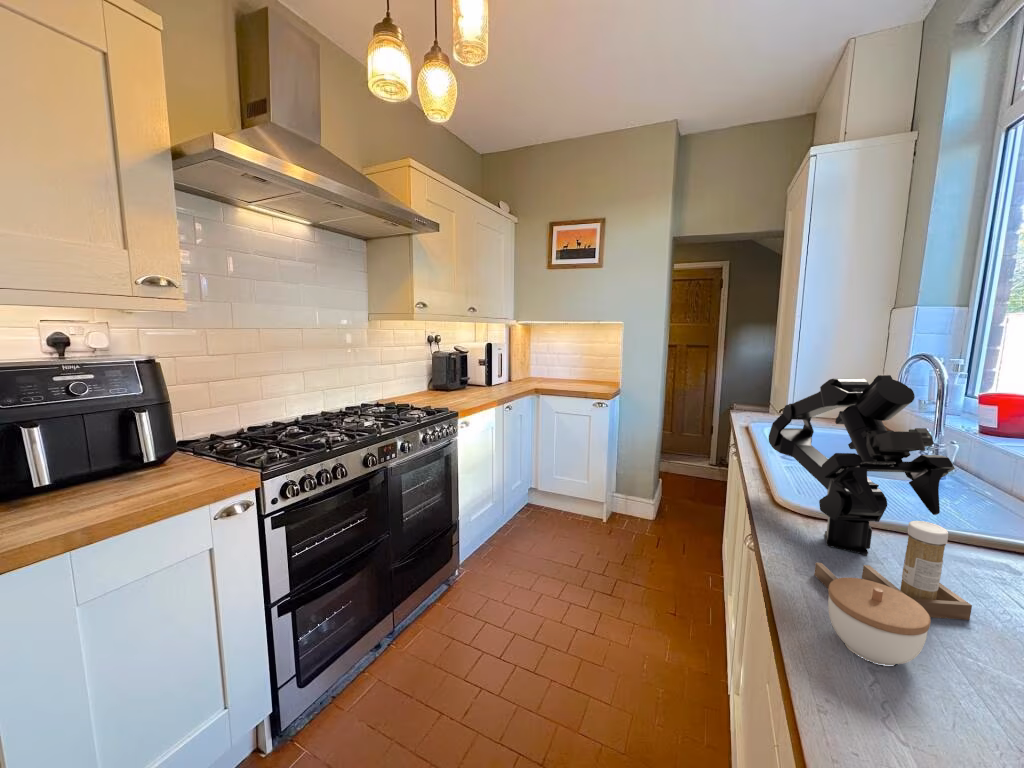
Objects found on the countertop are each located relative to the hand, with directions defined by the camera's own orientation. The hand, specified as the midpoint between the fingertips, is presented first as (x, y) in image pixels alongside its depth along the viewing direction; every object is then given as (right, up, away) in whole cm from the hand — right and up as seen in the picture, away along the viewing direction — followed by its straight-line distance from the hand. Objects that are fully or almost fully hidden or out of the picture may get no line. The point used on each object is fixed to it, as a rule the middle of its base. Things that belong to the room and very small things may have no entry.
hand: (906, 513), depth 71 cm
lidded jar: (-16, -16, -12) cm, 26 cm away
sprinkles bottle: (0, -14, -2) cm, 14 cm away
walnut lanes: (-4, -14, -1) cm, 14 cm away
